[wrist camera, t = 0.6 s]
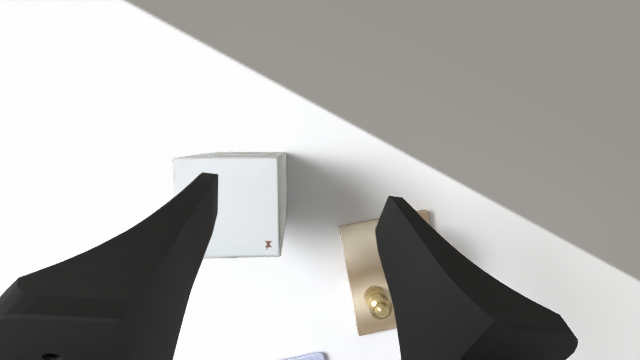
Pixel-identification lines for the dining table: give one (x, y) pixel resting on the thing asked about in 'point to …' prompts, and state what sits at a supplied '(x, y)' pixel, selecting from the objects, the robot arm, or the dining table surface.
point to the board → (366, 272)
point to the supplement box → (242, 200)
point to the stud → (378, 302)
